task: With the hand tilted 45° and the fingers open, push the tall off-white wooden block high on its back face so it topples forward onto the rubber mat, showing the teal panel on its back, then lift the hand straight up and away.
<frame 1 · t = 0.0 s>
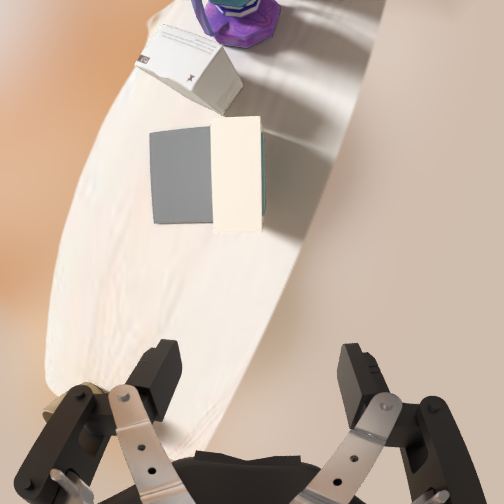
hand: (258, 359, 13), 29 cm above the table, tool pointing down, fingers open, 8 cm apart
block: (246, 172, 38), on the table
plant pot: (93, 391, 56), on the table
skincare box: (209, 89, 35), on the table
mat: (187, 175, 39), on the table
lantern: (242, 22, 31), on the table
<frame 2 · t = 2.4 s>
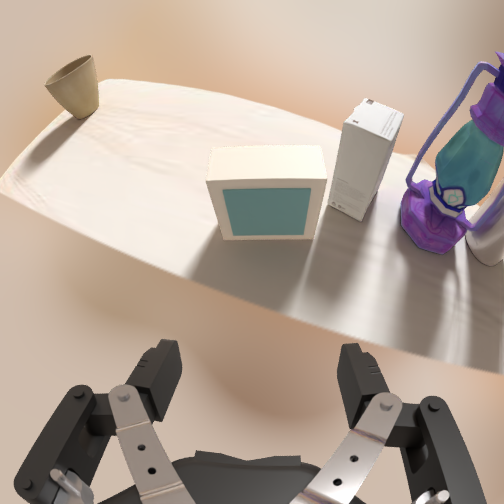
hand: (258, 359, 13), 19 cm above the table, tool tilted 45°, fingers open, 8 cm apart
block: (268, 223, 38), on the table
plant pot: (88, 111, 61), on the table
skincare box: (353, 195, 40), on the table
lantern: (427, 225, 37), on the table
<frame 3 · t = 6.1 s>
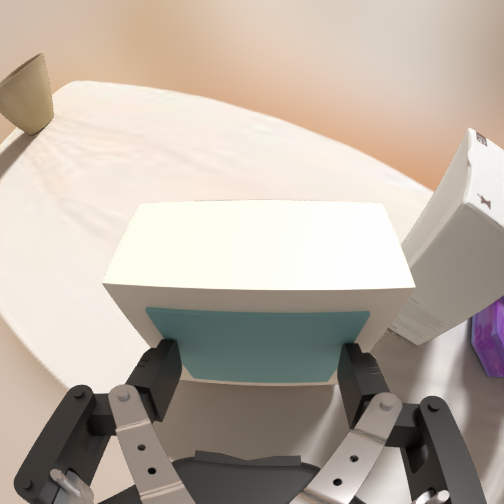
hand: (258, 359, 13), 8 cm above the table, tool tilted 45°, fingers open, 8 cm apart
block: (262, 354, 20), point 1 cm above the table, tilted 15°
plant pot: (41, 124, 43), on the table
skincare box: (407, 292, 22), on the table
lantern: (499, 330, 19), on the table
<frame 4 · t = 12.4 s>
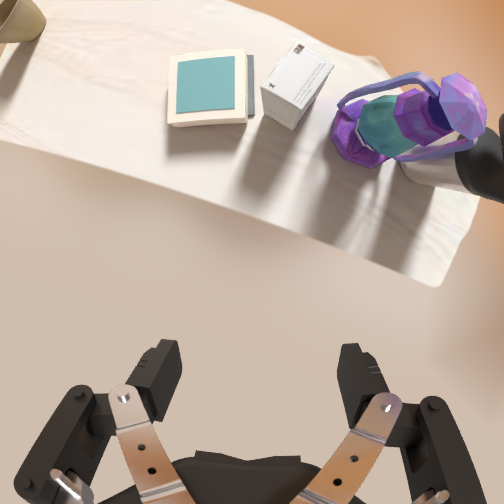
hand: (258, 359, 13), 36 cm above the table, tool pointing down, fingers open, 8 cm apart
block: (208, 122, 40), point 3 cm above the table, tilted 90°, touching mat
plant pot: (37, 29, 35), on the table
skincare box: (290, 103, 41), on the table
mat: (212, 86, 41), on the table
lantern: (360, 135, 42), on the table
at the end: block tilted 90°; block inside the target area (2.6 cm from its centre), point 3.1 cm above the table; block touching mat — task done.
